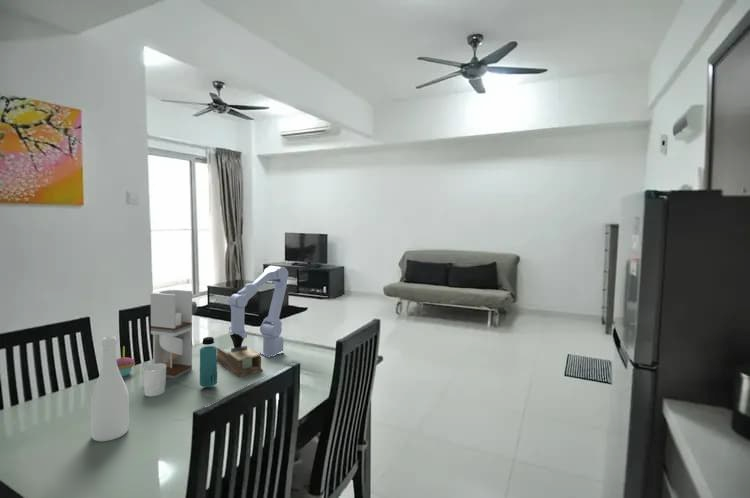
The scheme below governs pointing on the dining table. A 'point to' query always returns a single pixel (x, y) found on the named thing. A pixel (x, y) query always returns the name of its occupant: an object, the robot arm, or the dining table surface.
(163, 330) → the white tiered shelf
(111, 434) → the wine bottle
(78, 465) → the dining table surface
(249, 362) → the block
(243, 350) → the lid
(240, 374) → the brown wooden box
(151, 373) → the white cup
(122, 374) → the cupcake
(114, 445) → the dining table surface
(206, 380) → the beverage bottle
